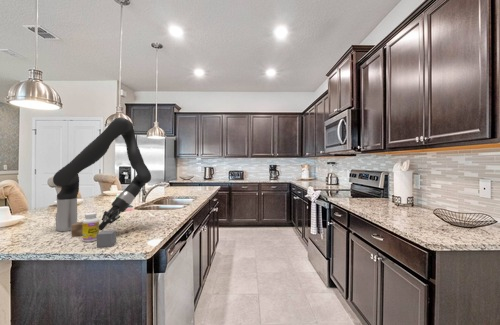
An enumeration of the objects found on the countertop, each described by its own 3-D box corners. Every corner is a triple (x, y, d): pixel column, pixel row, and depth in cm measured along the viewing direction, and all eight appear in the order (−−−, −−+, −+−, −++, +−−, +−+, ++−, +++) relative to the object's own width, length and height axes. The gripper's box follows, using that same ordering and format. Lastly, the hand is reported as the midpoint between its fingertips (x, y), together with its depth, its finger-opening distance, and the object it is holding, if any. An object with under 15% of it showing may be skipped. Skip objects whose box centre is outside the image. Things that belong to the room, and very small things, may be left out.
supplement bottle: (86, 243, 116) (86, 215, 116) (79, 240, 120) (79, 214, 120) (101, 239, 122) (101, 212, 122) (94, 237, 125) (94, 211, 125)
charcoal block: (96, 248, 110) (96, 234, 110) (102, 243, 116) (102, 230, 116) (111, 247, 111) (111, 233, 111) (116, 242, 117) (116, 229, 117)
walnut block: (71, 237, 126) (71, 225, 126) (77, 233, 132) (77, 222, 132) (84, 236, 128) (84, 224, 127) (90, 233, 133) (89, 221, 133)
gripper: (112, 195, 136) (87, 223, 126) (125, 197, 128) (99, 227, 118) (122, 204, 140) (98, 231, 130) (135, 206, 132) (111, 235, 122)
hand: (99, 229), depth 124 cm, fingers closed
